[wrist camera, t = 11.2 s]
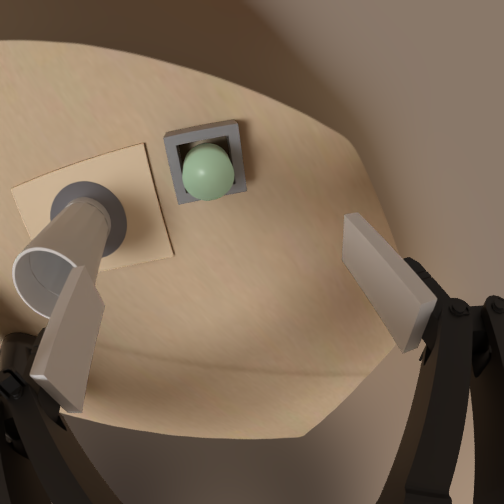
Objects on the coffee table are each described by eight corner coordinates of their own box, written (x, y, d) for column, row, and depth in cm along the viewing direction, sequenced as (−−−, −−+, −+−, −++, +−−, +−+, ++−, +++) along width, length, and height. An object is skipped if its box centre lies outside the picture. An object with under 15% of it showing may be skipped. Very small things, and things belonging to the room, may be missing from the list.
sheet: (53, 280, 34) (52, 282, 34) (12, 187, 26) (10, 189, 26) (173, 254, 36) (173, 257, 35) (143, 142, 28) (143, 143, 28)
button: (188, 190, 29) (188, 205, 26) (179, 148, 26) (177, 157, 23) (232, 182, 29) (237, 195, 26) (226, 139, 26) (230, 147, 24)
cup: (49, 196, 28) (-1, 252, 18) (110, 185, 29) (74, 242, 19) (67, 254, 32) (33, 322, 22) (124, 248, 33) (103, 320, 24)
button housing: (179, 193, 32) (178, 204, 29) (166, 132, 28) (163, 137, 25) (242, 181, 32) (247, 191, 30) (233, 119, 29) (237, 123, 26)
